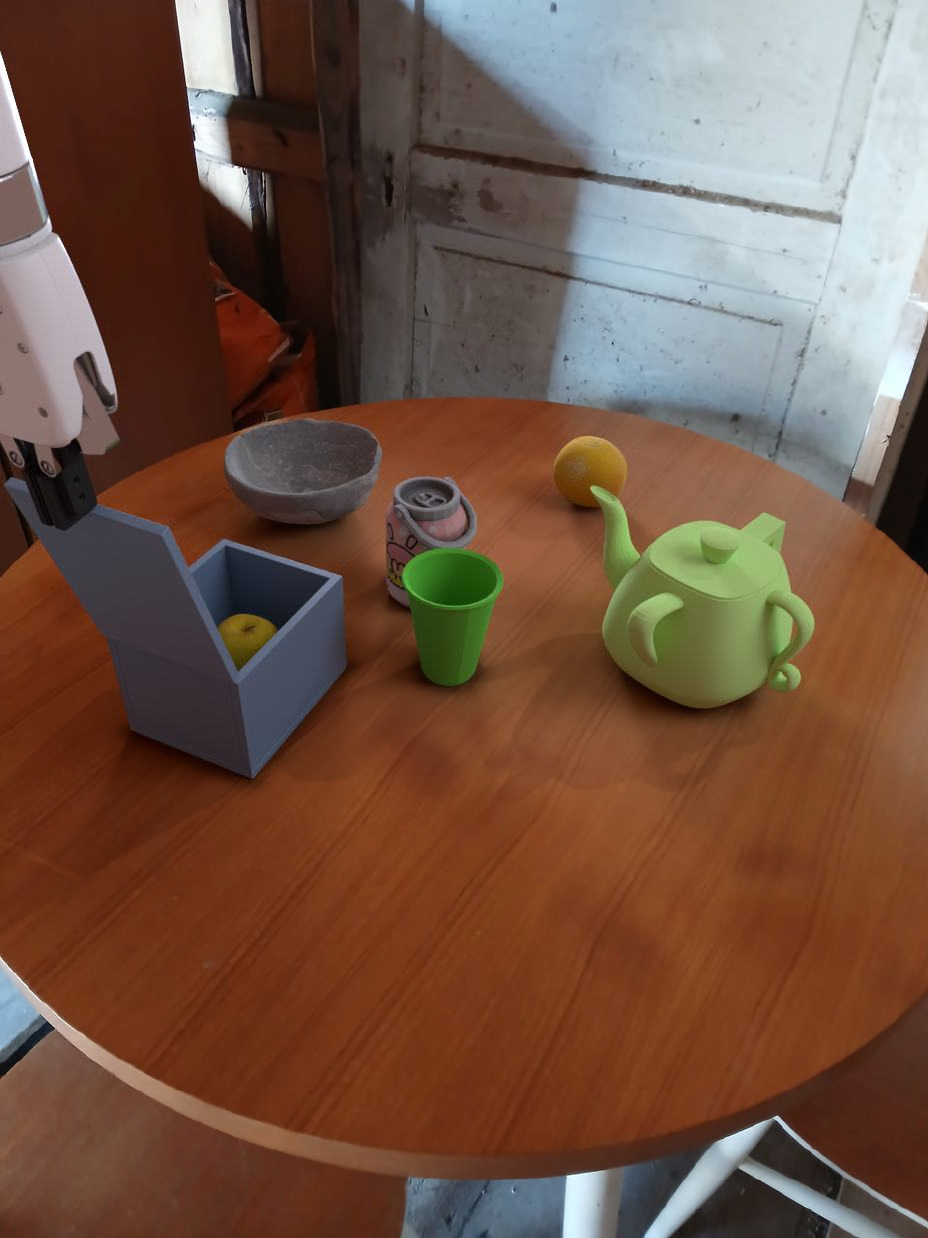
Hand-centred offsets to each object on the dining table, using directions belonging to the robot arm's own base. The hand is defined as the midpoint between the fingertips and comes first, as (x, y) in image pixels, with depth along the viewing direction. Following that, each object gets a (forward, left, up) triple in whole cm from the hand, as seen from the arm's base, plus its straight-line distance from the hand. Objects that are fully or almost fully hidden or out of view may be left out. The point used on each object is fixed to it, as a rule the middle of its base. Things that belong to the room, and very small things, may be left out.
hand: (71, 515), depth 56 cm
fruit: (+61, -17, -27) cm, 69 cm away
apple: (+14, 0, -26) cm, 30 cm away
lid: (+4, 0, -8) cm, 9 cm away
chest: (+13, 0, -27) cm, 30 cm away
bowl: (+43, +12, -27) cm, 53 cm away
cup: (+25, -15, -27) cm, 40 cm away
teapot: (+38, -34, -27) cm, 58 cm away
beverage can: (+35, -8, -27) cm, 45 cm away
